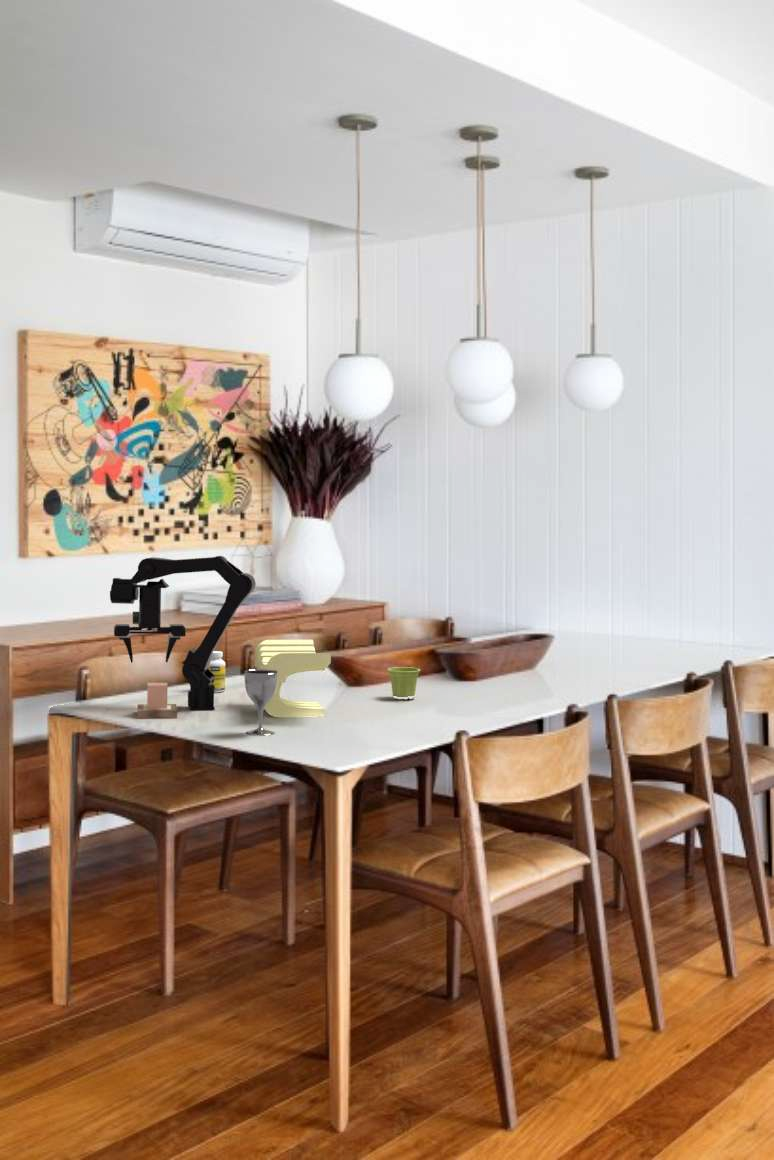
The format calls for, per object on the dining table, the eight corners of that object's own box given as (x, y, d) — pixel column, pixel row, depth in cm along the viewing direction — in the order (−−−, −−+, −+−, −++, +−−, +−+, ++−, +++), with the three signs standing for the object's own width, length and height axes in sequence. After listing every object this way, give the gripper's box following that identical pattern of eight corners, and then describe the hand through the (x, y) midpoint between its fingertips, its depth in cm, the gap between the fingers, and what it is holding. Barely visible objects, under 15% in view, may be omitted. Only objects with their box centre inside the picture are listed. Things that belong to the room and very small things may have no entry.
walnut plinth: (175, 711, 342) (176, 703, 342) (177, 718, 332) (177, 709, 332) (137, 711, 340) (137, 703, 340) (137, 718, 330) (137, 710, 330)
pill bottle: (204, 693, 374) (204, 653, 373) (201, 690, 380) (201, 650, 379) (226, 693, 376) (227, 653, 375) (223, 689, 382) (223, 650, 381)
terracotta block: (166, 705, 339) (166, 682, 338) (167, 708, 334) (167, 685, 333) (147, 705, 338) (147, 682, 337) (147, 708, 333) (147, 685, 332)
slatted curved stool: (254, 704, 357) (255, 639, 356) (311, 703, 360) (312, 639, 359) (267, 723, 328) (268, 653, 327) (329, 722, 331) (330, 652, 330)
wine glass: (277, 730, 318) (278, 669, 317) (275, 736, 310) (276, 673, 309) (245, 729, 318) (245, 668, 317) (242, 735, 310) (243, 673, 309)
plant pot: (383, 700, 368) (384, 670, 367) (391, 695, 377) (392, 666, 376) (415, 702, 366) (416, 672, 365) (422, 697, 375) (423, 667, 374)
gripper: (182, 602, 356) (182, 658, 357) (113, 601, 352) (112, 658, 353) (186, 605, 345) (185, 663, 346) (114, 605, 341) (114, 664, 342)
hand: (149, 662), depth 347 cm, fingers open, 9 cm apart
